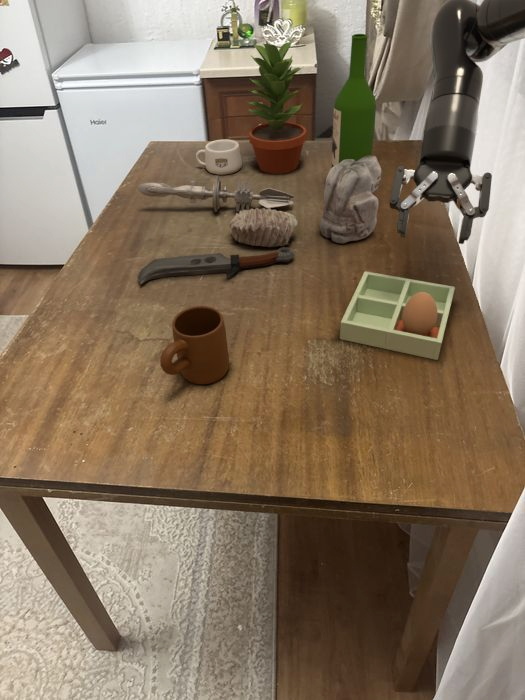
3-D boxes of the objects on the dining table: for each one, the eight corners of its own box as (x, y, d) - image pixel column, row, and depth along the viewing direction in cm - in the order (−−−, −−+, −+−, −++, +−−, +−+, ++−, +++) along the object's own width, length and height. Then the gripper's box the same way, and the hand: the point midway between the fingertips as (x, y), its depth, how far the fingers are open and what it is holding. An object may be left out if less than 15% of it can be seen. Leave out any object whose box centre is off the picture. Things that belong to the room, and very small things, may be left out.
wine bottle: (325, 186, 130) (330, 33, 109) (360, 181, 131) (372, 28, 110) (337, 202, 123) (345, 42, 102) (374, 196, 124) (389, 37, 103)
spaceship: (141, 169, 123) (133, 169, 115) (294, 180, 123) (296, 181, 115) (141, 205, 125) (133, 207, 118) (291, 216, 125) (292, 219, 118)
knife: (297, 267, 99) (134, 279, 99) (297, 277, 101) (137, 289, 100) (292, 243, 106) (139, 254, 105) (292, 252, 107) (142, 264, 107)
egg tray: (451, 303, 92) (455, 286, 90) (437, 360, 82) (441, 342, 79) (363, 287, 97) (364, 271, 95) (339, 339, 87) (340, 322, 84)
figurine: (385, 233, 112) (394, 162, 102) (344, 250, 107) (349, 178, 97) (352, 215, 118) (357, 147, 108) (312, 231, 113) (313, 161, 104)
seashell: (301, 214, 113) (291, 186, 104) (302, 253, 111) (290, 229, 101) (236, 223, 117) (220, 197, 108) (235, 261, 115) (218, 239, 105)
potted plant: (307, 154, 146) (308, 27, 126) (304, 177, 134) (305, 42, 115) (253, 154, 147) (246, 29, 128) (245, 177, 136) (236, 43, 116)
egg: (433, 326, 87) (441, 285, 82) (432, 347, 83) (441, 305, 78) (400, 322, 88) (406, 282, 83) (398, 342, 84) (405, 301, 79)
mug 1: (191, 412, 76) (181, 363, 70) (150, 393, 79) (138, 344, 73) (239, 362, 83) (234, 314, 77) (200, 347, 87) (193, 299, 80)
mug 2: (243, 160, 144) (242, 137, 140) (241, 175, 137) (239, 151, 133) (199, 161, 145) (196, 139, 141) (194, 176, 138) (191, 153, 134)
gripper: (401, 120, 80) (383, 226, 79) (504, 125, 76) (486, 237, 75) (401, 143, 87) (384, 241, 86) (494, 149, 83) (478, 251, 83)
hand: (431, 239), depth 81 cm, fingers open, 8 cm apart
